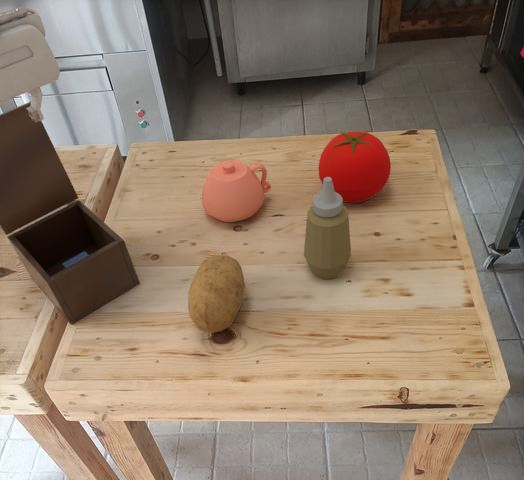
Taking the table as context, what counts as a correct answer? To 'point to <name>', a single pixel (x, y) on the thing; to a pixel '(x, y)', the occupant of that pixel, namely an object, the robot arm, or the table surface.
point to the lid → (29, 171)
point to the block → (74, 259)
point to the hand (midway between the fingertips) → (7, 132)
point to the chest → (82, 272)
